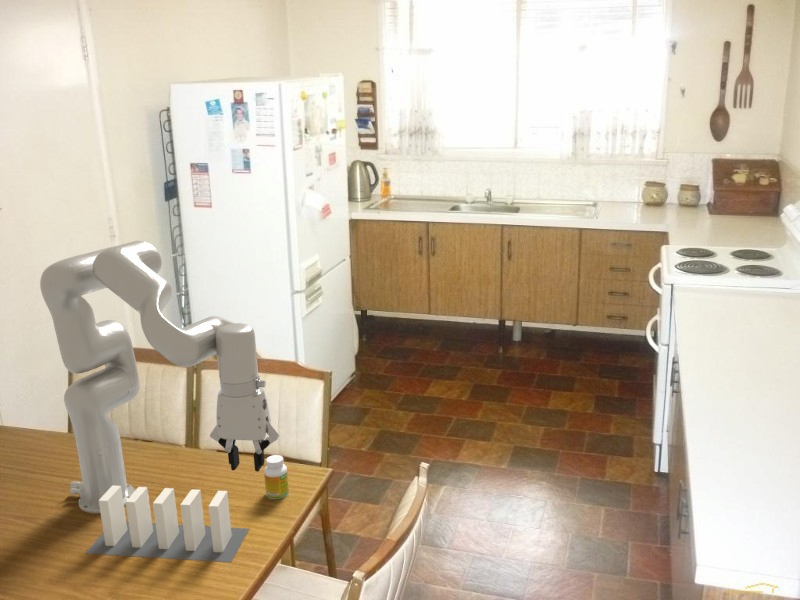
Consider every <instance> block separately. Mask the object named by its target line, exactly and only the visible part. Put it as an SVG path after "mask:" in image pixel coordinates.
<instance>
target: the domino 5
mask: <svg viewBox="0 0 800 600" xmlns="http://www.w3.org/2000/svg"><path fill="white" fill-rule="evenodd" d="M228 494H229V493H228V490H217V492H216V493H215V495H214V496H213V498H212V500H211V501H210V503H209V504H208V515H209V523H210V526H211V534H212V543H213V552H223V551H224V549H225V547H226V546H227V544H228V542H229V540H230V538H231V536H232V532H231V528H232V524H231V514H230V504H229V502H230V501H229V495H228Z"/></svg>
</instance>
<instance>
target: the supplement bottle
mask: <svg viewBox="0 0 800 600" xmlns="http://www.w3.org/2000/svg"><path fill="white" fill-rule="evenodd" d="M265 461H266V466H265V468H264V469H263V473H264V474H263V475H264V486H265V495H266V497H267V498H269V499H271V500H280V499H283V498H286V497H288V496H289V493H290V490H289V488H290V487H289V478H288V467H287V466H286V464H284V457H283V456H282V455H279V454H274V455H272V454H271V455H270V456H268V457H266V459H265Z"/></svg>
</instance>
